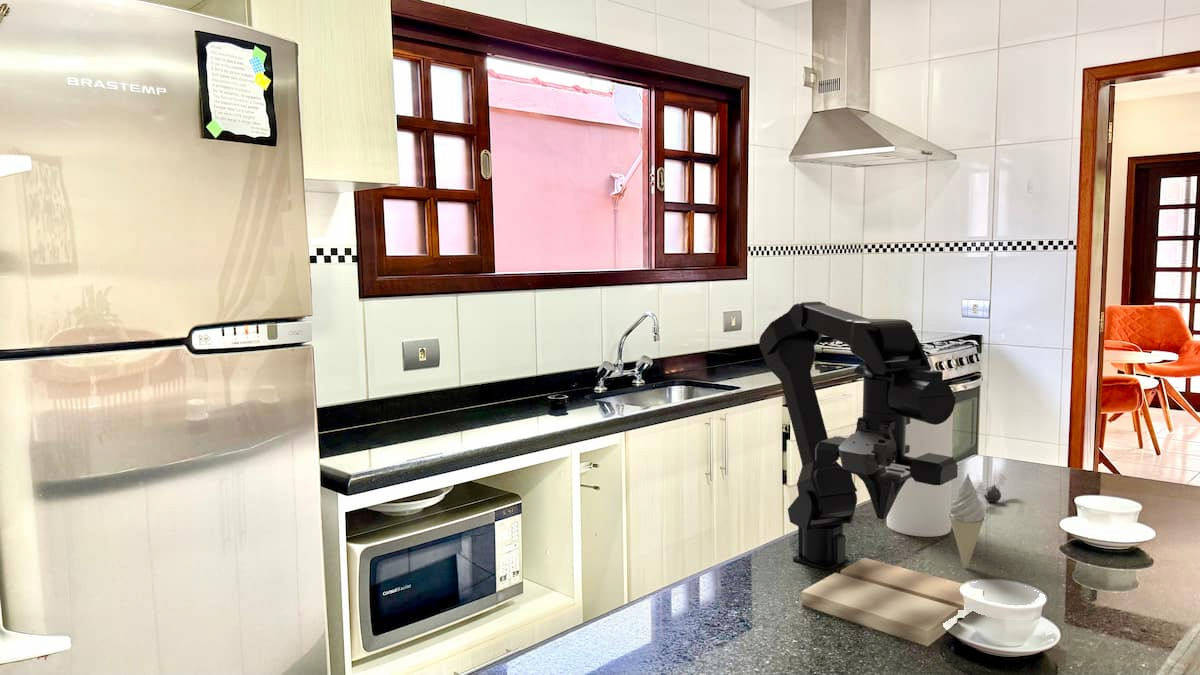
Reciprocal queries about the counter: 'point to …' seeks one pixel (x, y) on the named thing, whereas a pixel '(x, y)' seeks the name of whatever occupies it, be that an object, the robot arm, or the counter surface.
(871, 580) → the floor strip
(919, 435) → the tall pillar cylinder
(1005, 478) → the bat toy
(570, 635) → the counter surface
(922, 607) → the oak plank
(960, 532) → the ice cream cone
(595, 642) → the counter surface
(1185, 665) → the counter surface
